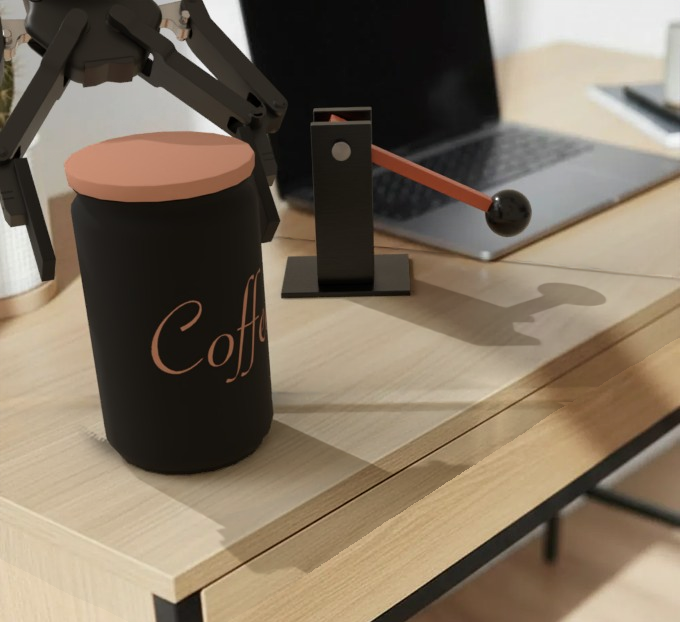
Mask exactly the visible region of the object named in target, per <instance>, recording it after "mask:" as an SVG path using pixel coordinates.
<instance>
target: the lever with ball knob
mask: <svg viewBox="0 0 680 622" xmlns="http://www.w3.org/2000/svg"><path fill="white" fill-rule="evenodd" d="M338 121H346V120H344V119H342V118H340V117H337V116H335V115H333V114H332V115H331V118H330V120H329V122H338ZM371 145H372V164H375V165H377V166H380V167H382V168H384V169H386V170H389V171H391V172H393V173H395V174H398V175H400V176H402V177H404V178H407V179H409V180H412V181H414V182H416V183H418V184H421V185H423V186H425V187H427V188H429V189H432V190H434V191H437V192H439V193H441V194H443V195H445V196H448V197H450V198H452V199H454V200H456V201H459V202H461V203H464V204H466V205H469V206H471V207H473V208H475V209H477V210H480V211H482V212H484V219H485V222H486V225H487V227H488V228H489V230H491V232H492V233H493V234H495V235H497V236H499V237H502V238H512V237H516V236H519V235H520V234H522V233H524V231H525V230H526V229H527V228H528V227H529V225H530V223H531V220H532V216H533V209H532V205H531V201H530V200H529V199H528V198H527V196H526V195H525V194H524V193H523V192H521V191H519V190H516V189H511V188H510V189H507V188H506V189H502V190H499V191H497V192H496V193H494V194H493V195H492V196H490V195H488V194H485V193H483V192H481V191H478V190H477V189H474V188H472V187H470V186H468V185H465V184H463V183H460V182H458V181H456V180H454V179H452V178H449V177H448V176H445V175H442V174H440V173H438V172H436V171H433V170H432V169H429V168H427V167H424V166H422V165H420V164H418V163H415V162H413V161H411V160H408V159H406V158H404V157H402V156H400V155H397V154H396V153H392V152H391V151H389V150H386V149H385V148H384V149H383V148H382V147H379V146H377V145H375V144H373V143H372V144H371Z"/></svg>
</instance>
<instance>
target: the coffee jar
mask: <svg viewBox="0 0 680 622" xmlns="http://www.w3.org/2000/svg"><path fill="white" fill-rule="evenodd" d="M254 166H255V153H254V151H253V150H252V148H251V147H250V145H249V144H248V143H246V142H243V141H241V140H239V139H237V138H234V137H232V136H230V135H225V134H219V133H215V132H207V131H206V132H203V131H191V130H180V131H179V130H178V131H177V130H176V131H155V132H154V131H153V132H144V133H135V134H130V135H129V134H128V135H124V136H119V137H113V138H110V139H105V140H102V141H99V142H96V143H93V144H89V145H87V146H85V147H83V148H81V149H79V150H77V151H75V152H72V153H71V154H70V155H69V156H68V157H67V159H66V160H64V162H63V168H64V169H63V170H64V174H65V177H66V181H67V186H68V187H69V188H71V189H72V190H73V192H74V193H75V194H76V195H75V197H74V199H73V200H72V202H71V203H70V216H71V223H72V230H73V234H74V241H75V248H76V254H77V260H78V261H77V262H78V267H79V268H78V269H79V273H80V274H79V275H80V279H81V286H82V287H81V288H82V293H83V300H84V305H85V311H86V318H87V325H88V330H89V331H88V332H89V337H90V345H91V349H92V350H91V351H92V356H93V357H92V358H93V363H94V371H95V375H96V382H97V389H98V394H99V401H100V407H101V413H102V420H103V426H104V431H105V438H106V440H107V442H108V443H109V445H110V446H111V447H112V448H113V449H114V450H115V451H116V452H117V453H118V454H119V455H120V456H121V458H122V459H124V461H126V462H127V464H129V465H131V466H133V467H135V468H138V469H140V470H142V471H144V472H149V473H154V474H160V475H165V476H192V475H193V476H194V475H199V474H207V473H213V472H217V471H219V470H223V469H226V468H228V467H231V466H235V465H237V464H238V463H240V462H242V461H244V460H245V459H247V458H248V457H250V456H252V455H253V454H254V453H255V452H256V450H258V449H259V448H260V446H261V445H262V444H263V441H264V439H265V438H266V437H267V436H268V434H269V432H270V430H271V427H272V422H273V419H274V418H273V417H274V406H273V405H274V404H273V389H272V375H271V362H270V361H271V360H270V346H269V333H268V318H267V304H266V291H265V290H266V289H265V275H264V262H263V248H262V247H263V246H262V243H261V232H260V217H259V203H258V197H257V194H256V192H255V190H254V189H253V187H252V185H251V184H250V183H249V182H248V177H249V176H250V175H251V173H252V171H253V168H254Z"/></svg>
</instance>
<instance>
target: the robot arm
mask: <svg viewBox="0 0 680 622" xmlns="http://www.w3.org/2000/svg"><path fill="white" fill-rule="evenodd" d="M22 3H23V6H24V9H25V12H26V15H25V18H23V19H22V18H21V19H20V18H19V19H17V18H16V19H15V18H14V19H13V18H12V19H11V18H10V19H9V18H8V19H6V18H5V19H3V18H1V17H0V88H1V87H2V83H3V79H4V74H5V62H10V61H11V60H12V59H13V58H14V57H15V56H16V55H17V52H18V48H19V46H21V45H22V44H27V46H28V47H29V48H30V50H32V51H33V52H34V53H36V54H37V55H38V56H39V57H40V58H41V60H40V62H39V67H38V68H37V70H36V71H35V74H34V75H33V76H32V78H31V80H30V82H29V83H28V84H27V86H26V88H25V90H24V91H23V94H21V97H20V98H19V100H18V101H17V103H16V105H15V106H14V108H13V110H12V112H11V113H10V114H9V116H8V118H7V120H6V122H5V123H4V125H3V126H2V127H1V130H0V207H1V211H2V214H3V217H4V218H3V219H4V221H5V222H6V223H7V225H8V226H9V227H10V228H16V227H23V226H25V228H26V229H25V230H26V231H27V235H28V238H29V242H30V246H31V249H32V253H33V256H34V260H35V264H36V267H37V271H38V274H39V276H40V281H41V282H42V283H44V282H50V281H55V280H56V279H55V278H56V277H55V276H56V265H57V257H56V254H55V250H54V247H53V244H52V240H51V237H50V233H49V230H48V226H47V222H46V220H45V219H46V218H45V216H44V213H43V208H42V205H41V201H40V198H39V194H38V192H37V188H36V185H35V180H34V176H33V174H32V170H31V167H30V164H29V159H28V157H27V156H26V157H24V156H25V154H26V153H27V151H28V150H29V148H30V146H31V144H32V143H33V141H34V139H35V137H36V136H37V134H38V133H39V131H40V129H41V127H42V126H43V124H44V122H45V121H46V119H47V117H48V115H49V114H50V112H51V110H52V109H53V107H54V106H55V104H56V102H57V101H59V100H60V99H61V98H62V96H63V95H64V93H65V91H66V89H67V88H68V86H69V84H70V83H71V82H74V83H76V84H80V85H81V84H82V85H81V86H82V88H92V87H98V86H99V85H102V84H105V83H116V84H123V83H124V84H125V83H131V82H133V80H134V78H135V77H137V76H138V77H139V78H141V79H142V80H143V81H145V82H147V83H148V84H149V85H150V86H152V87H154V88H157V89H158V88H162V89H163V90H165V91H167V92H168V93H169V94H171V95H172V96H174V97H175V98H176V99H178V100H179V101H180V102H182V103H184V104H185V105H187V106H188V107H189V108H190V109H192V110H194V111H195V112H196V113H198V114H199V115H200V116H202V117H203V118H204V119H206V120H208V121H209V122H211V123H212V124H213V125H215V126H216V127H218V128H219V129H221V130H222V131H223V132H224V133H226V134H228V136H230V137H234V138H237V139H239V140H241V141H243V142H246V143H248V144H249V145H250V147H251V148H252V150H253V151H254V153H255V166H254V168H253V171H252V173H251V175H250V176H249V177H248V182H249V183H250V184H251V185H252V187H253V189H254V190H255V192H256V194H257V197H258V203H259V217H260V232H261V244H266V243H271V242H272V241H273V239H274V237H275V234H276V232H277V231H278V227H279V226H280V223H281V218H280V215H279V212H278V209H277V206H276V202H275V199H274V196H273V193H272V190H271V187H273V185H274V183H275V180H276V177H277V175H278V164H277V161H276V158H275V155H274V153H273V152H274V151H273V149H272V146H271V142H270V139H269V137H268V134H269V133H270V134H275V133H277V132H278V131H279V130H280V128H281V127H282V126H281V125H282V123H283V120H284V118H285V115H286V113H287V109H288V106H289V104H288V103H289V102H288V100H287V99H286V97H285V96H284V95H283V94H282V93H281V92H280V91H279V90H278V89H277V88H276V86H275V85H274V84H272V82H271V81H270V80H269V79H268V78H267V77H266V76H265V75H264V74H263V73H262V71H260V70H259V68H258V67H257V66H256V65H255V64H254V63H253V62H252V61H251V59H249V57H247V55H246V54H245V53H244V52H243V51H242V50H241V49H240V48H239V46H237V45H236V43H234V42H233V40H231V38H230V37H229V36H228V35H227V34H226V32H224V31H223V30H222V28H221V27H219V26H218V24H217V23H216V22H215V21H214V20H213V19H212V17H211V16H210V13H209V11H208V9H207V7H206V5H205V2H204V1H203V0H178V1H173V2H168V3H163V4H159V5H158V3H157V2H156V1H154V0H22ZM161 29H168V30H170V31H172V33H173V34H174V35H175V36H176V37H175V38H176V40H177V41H179V42H185V43H186V44H187V46H188V48H189V49H190V52H192V54H193V55H194V56H195V57H196V58H197V59H198V60H199V62H200V63H201V64H202V65H203V66H204V67H205V68H206V69H207V70H208V72H207V71H206V70H205V69H203V68H202V67H200V66H199V65H197V64H196V63H194V61H192V60H191V59H189V58H187V57H186V56H185V55H183V54H182V53H180V52H179V51H178V50H177V48H176V45H175V44H174V42H172V41H171V40H170V39H169V38H167V37H166V36H165V35H164V34H162V33H161ZM150 55H152V58H153V59H151V58H150ZM209 72H210V73H211V74H212V75H211V74H210V73H209Z"/></svg>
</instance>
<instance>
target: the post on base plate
mask: <svg viewBox="0 0 680 622" xmlns="http://www.w3.org/2000/svg"><path fill="white" fill-rule="evenodd" d="M332 114H333V115H335V116H337V117H340V118H342V119H344V120H346V121H338V122H329V120H330V118H331V115H332ZM312 116H313V117H312V118H313V121H312V122H310V144H311V163H312V164H311V165H312V166H311V167H312V185H313V189H312V190H313V210H314V230H315V232H314V233H315V248H316V249H315V253H316V255H291V256H289V255H288V256H287V258H286V259H287V260H286V264H285V269H284V275H283V280H282V285H281V292H280V299H310V298H311V299H314V298H315V299H318V298H320V299H323V298H324V299H325V298H365V297H366V298H367V297H369V298H370V297H371V298H372V297H410V296H411V280H410V278H411V277H410V276H411V275H410V260H409V253H385V254H384V253H383V254H381V253H379V254H375V235H374V234H375V226H374V223H375V222H374V221H375V219H374V179H373V178H374V175H373V174H374V173H373V170H374V169H373V168H374V167H373V162H372V145H373V124H372V123H373V120H372V119H373V117H372V107H371V106H351V107H318V108H317V107H316V108H313V111H312ZM371 144H372V145H371Z"/></svg>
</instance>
